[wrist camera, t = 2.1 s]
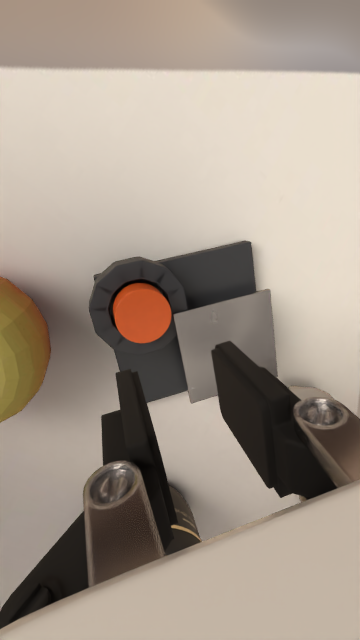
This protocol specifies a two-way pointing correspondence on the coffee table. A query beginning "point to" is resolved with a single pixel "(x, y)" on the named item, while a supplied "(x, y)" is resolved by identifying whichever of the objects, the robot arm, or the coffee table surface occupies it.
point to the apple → (20, 349)
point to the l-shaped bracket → (181, 293)
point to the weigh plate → (224, 337)
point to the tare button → (141, 313)
